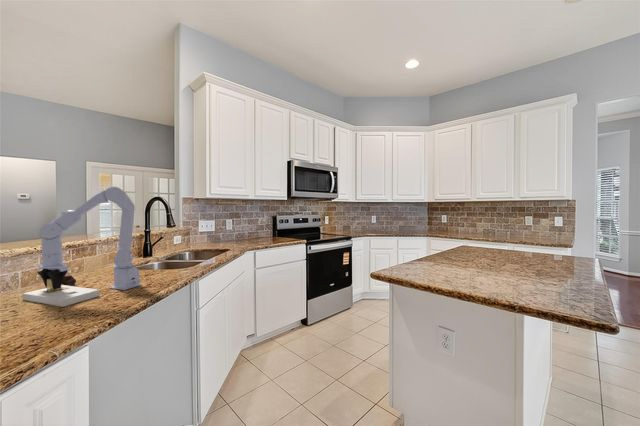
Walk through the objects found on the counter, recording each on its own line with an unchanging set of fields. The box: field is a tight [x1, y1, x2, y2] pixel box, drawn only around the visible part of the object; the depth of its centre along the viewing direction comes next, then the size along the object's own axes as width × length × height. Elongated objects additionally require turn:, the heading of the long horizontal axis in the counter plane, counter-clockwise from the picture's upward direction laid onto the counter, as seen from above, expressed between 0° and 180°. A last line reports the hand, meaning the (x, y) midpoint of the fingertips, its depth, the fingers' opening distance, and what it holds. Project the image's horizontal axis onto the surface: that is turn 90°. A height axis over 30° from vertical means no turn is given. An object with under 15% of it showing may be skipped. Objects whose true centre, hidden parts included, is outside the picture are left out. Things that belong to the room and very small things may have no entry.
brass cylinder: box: [47, 278, 61, 293], centre depth 107 cm, size 4×4×6 cm
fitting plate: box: [22, 285, 101, 307], centre depth 106 cm, size 24×12×3 cm, turn 71°
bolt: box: [62, 274, 77, 286], centre depth 125 cm, size 6×5×15 cm
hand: (53, 288), depth 107 cm, fingers closed on brass cylinder, 4 cm apart
